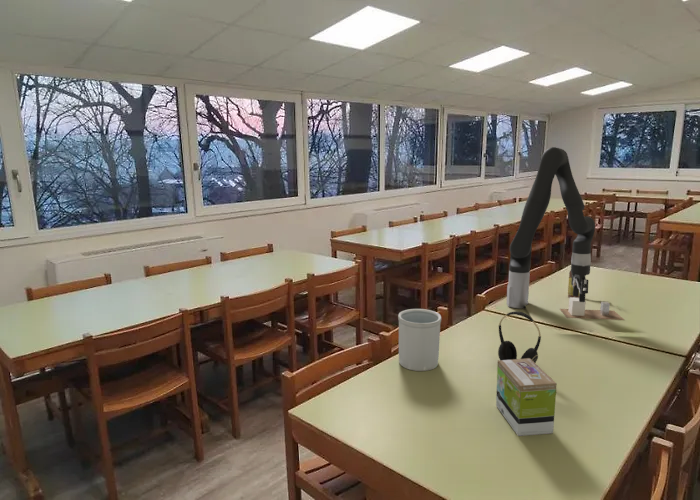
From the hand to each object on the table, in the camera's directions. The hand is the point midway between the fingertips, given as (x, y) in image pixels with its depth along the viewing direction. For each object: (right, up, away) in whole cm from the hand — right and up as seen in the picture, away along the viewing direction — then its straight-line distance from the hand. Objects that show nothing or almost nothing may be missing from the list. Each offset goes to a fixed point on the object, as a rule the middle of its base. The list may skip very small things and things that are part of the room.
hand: (578, 298), depth 202 cm
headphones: (-44, -19, -46) cm, 66 cm away
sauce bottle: (+12, -3, +28) cm, 31 cm away
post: (+11, -7, -1) cm, 13 cm away
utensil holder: (-76, -18, -40) cm, 88 cm away
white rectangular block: (0, -7, +1) cm, 7 cm away
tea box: (-53, -25, -76) cm, 96 cm away
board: (+5, -8, +1) cm, 10 cm away
